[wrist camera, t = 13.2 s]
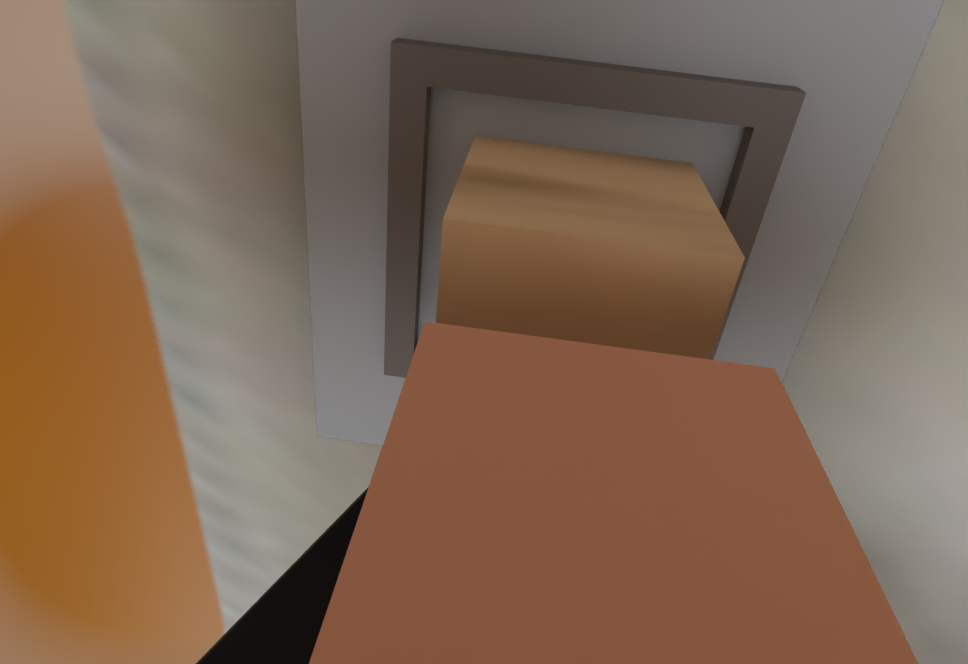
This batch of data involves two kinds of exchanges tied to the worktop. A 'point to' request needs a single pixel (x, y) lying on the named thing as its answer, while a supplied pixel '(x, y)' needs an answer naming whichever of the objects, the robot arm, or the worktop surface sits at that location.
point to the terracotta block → (599, 518)
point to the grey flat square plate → (581, 147)
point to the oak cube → (586, 249)
